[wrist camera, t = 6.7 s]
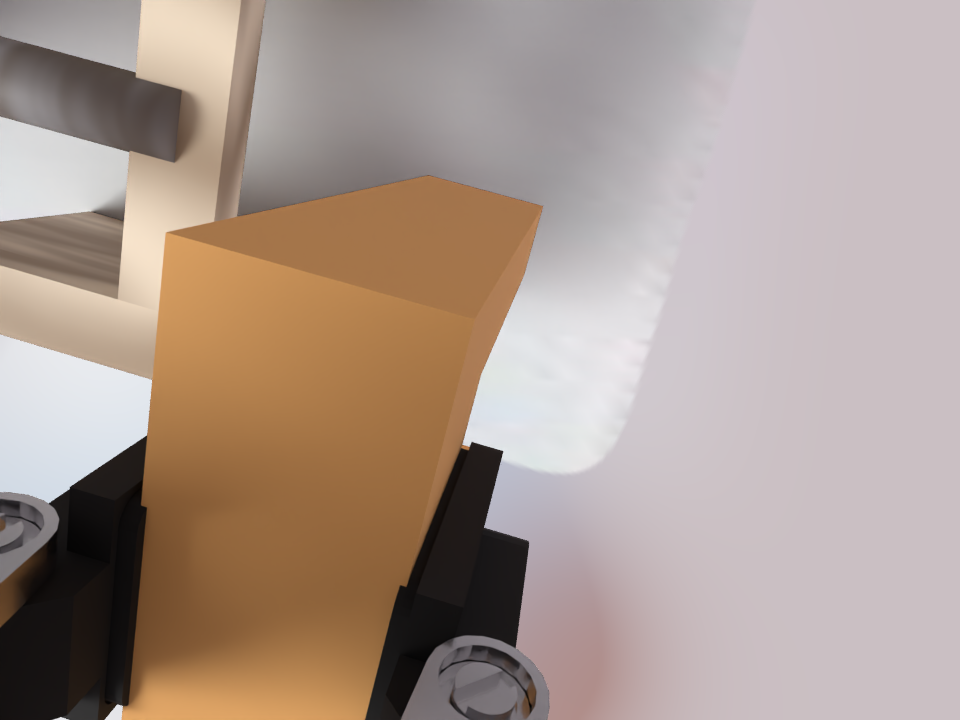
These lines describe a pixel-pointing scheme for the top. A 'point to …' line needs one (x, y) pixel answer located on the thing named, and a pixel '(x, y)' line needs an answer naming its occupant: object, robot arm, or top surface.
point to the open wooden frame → (151, 173)
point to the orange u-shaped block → (308, 438)
